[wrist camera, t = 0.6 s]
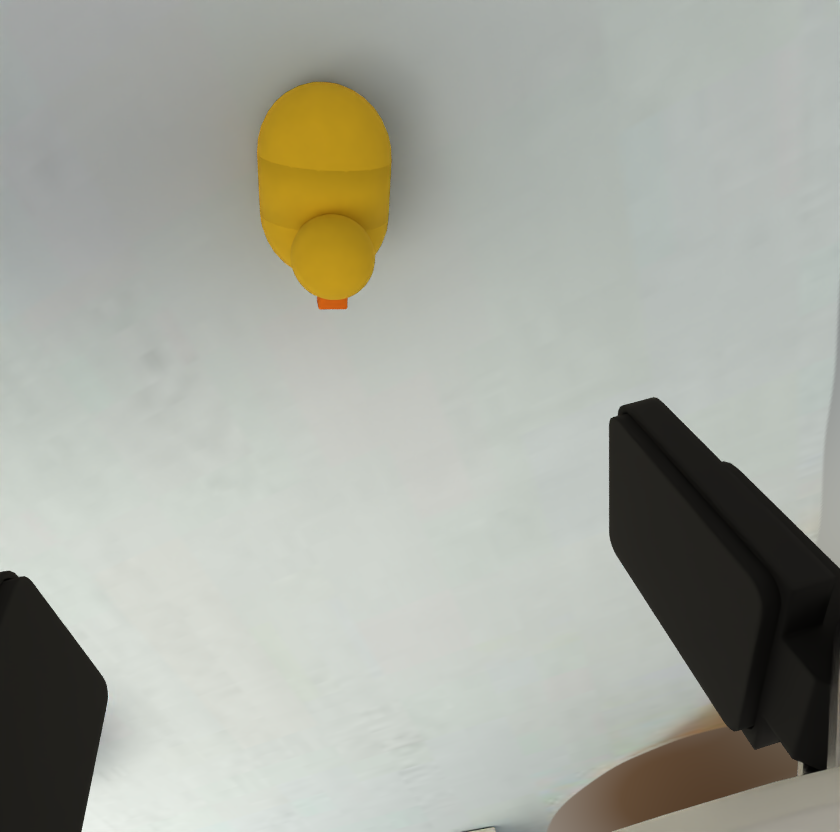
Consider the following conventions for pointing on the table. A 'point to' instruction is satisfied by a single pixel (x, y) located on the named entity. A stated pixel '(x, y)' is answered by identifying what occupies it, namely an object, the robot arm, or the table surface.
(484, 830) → the milk
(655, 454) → the robot arm
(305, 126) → the duck
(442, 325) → the table surface
